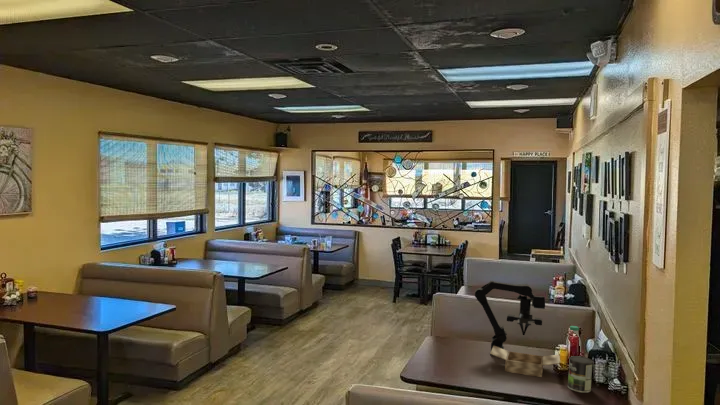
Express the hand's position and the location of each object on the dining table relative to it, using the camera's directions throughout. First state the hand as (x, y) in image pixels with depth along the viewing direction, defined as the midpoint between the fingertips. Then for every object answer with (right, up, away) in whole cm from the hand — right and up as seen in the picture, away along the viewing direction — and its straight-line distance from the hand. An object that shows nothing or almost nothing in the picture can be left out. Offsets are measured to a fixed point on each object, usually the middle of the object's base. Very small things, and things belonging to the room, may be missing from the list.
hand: (523, 335), depth 297 cm
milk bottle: (+25, -14, -6) cm, 29 cm away
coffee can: (+13, -15, -44) cm, 48 cm away
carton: (-6, -13, -20) cm, 25 cm away
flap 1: (-18, -5, -16) cm, 24 cm away
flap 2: (+6, -6, -25) cm, 26 cm away
